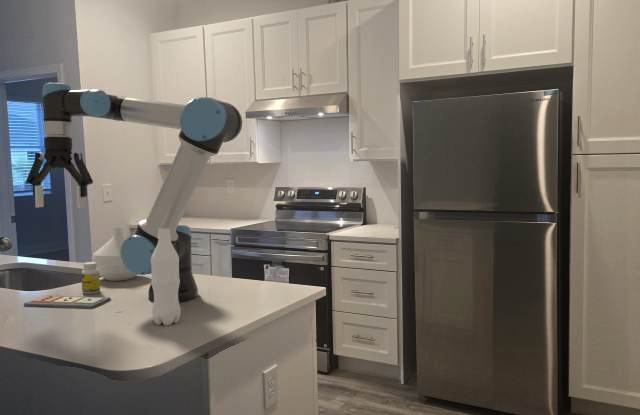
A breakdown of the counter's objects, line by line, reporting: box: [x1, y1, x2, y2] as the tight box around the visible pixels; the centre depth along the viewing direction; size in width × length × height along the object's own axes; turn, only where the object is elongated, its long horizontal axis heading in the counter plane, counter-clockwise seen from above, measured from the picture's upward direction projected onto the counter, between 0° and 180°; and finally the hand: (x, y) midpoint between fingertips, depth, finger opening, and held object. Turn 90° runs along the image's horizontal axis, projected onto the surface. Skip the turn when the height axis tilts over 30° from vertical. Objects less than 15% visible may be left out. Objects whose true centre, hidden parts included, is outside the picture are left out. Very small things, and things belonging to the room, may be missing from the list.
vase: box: [91, 226, 137, 282], centre depth 198 cm, size 18×18×19 cm
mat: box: [23, 295, 112, 309], centre depth 163 cm, size 22×10×1 cm, turn 82°
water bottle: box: [150, 228, 182, 327], centre depth 141 cm, size 7×7×25 cm
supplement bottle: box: [81, 261, 101, 295], centre depth 177 cm, size 5×5×10 cm
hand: (60, 207), depth 161 cm, fingers open, 13 cm apart
